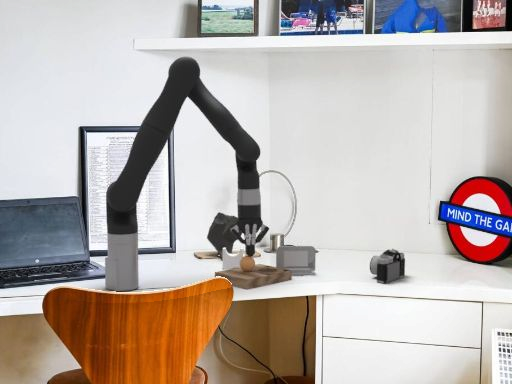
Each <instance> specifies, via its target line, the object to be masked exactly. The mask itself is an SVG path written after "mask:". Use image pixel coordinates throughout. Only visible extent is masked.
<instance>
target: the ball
mask: <svg viewBox="0 0 512 384" xmlns="http://www.w3.org/2000/svg"><path fill="white" fill-rule="evenodd" d="M255 265H256V261H255V259H254V258H253V256H251V257H249V256H248V255H245V256H244V257H243V258H242V259H241V260H240V267H241V269H242V270H244V271H251V270H252V269H253V268H254V267H255Z"/></svg>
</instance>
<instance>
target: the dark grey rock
mask: <svg viewBox="0 0 512 384" xmlns="http://www.w3.org/2000/svg"><path fill="white" fill-rule="evenodd" d="M237 220H238V216H235V215H228V214H226V213H223V212H220V211H218V212H217V214H216V215H215V216H214V219H213V221H212V222H211V225H210V226H209V230H208V233H207V235H206V238H207V239H206V240H208V242H209V243H210V244H211V246H213V247H214V249H215V251H217V256H218V255H220V256H221V257H220V256H219V257H220V258H221V261H222V262H223V248H226V250H227V252H228V253H229V254H234V253H233V248H234V244H235V242H236V241H239V240H238V239H237V238H236V237H235V235H234V234H233V233H232V232H231V231H230V229H231V228H233V227H234V226H236V222H237ZM238 230H239V232H238V234H239V235H240V236H241V237H242V235H243V233H242V232H241V230H240V229H239V228H238Z"/></svg>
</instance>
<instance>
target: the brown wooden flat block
mask: <svg viewBox="0 0 512 384" xmlns="http://www.w3.org/2000/svg"><path fill="white" fill-rule="evenodd" d="M216 276H221V277H225V278H227V279H228V280H229V281H230V282H231V283H232V285H233V286H232V287H236V288H241V289H245V290H250V289H255V288H258V287H264V286H269V285H273V284H278V283H283V282H286V281H291V280H292V279H293V278H292V277H293V276H292V270H287V269H282V268H277V267H276V266H272V265H266V264H261V263H257V264H256V263H255V267H254V268H253V269H252V270H251V271H244V270H242V269H241V267H240V268H233V269H229V270H227V269H223V270H220V271H214V278H215V277H216Z"/></svg>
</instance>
